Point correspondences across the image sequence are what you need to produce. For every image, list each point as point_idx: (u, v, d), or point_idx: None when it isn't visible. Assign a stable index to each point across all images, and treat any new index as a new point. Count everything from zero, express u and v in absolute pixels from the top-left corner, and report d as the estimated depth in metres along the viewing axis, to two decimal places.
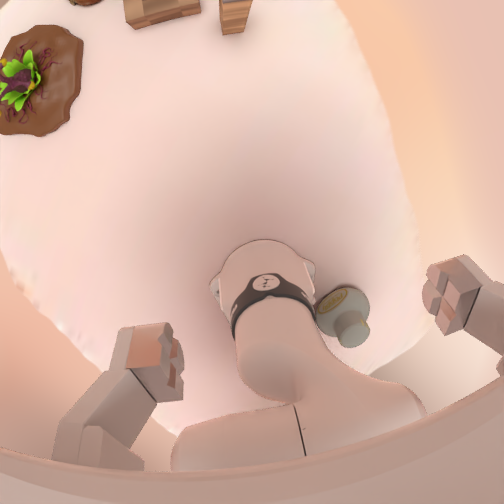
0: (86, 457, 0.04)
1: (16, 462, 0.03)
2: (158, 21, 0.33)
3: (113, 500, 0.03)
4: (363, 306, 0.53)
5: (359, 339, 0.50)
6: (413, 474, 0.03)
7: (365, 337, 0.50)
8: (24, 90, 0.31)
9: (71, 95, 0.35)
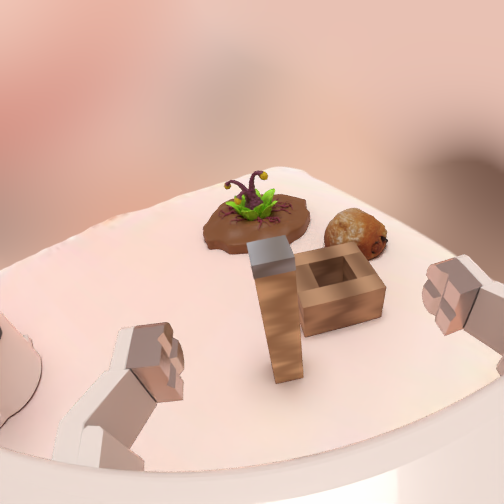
0: (86, 457, 0.04)
1: (16, 462, 0.03)
2: None
3: (113, 500, 0.03)
4: None
5: None
6: (413, 474, 0.03)
7: None
8: None
9: (226, 243, 0.51)
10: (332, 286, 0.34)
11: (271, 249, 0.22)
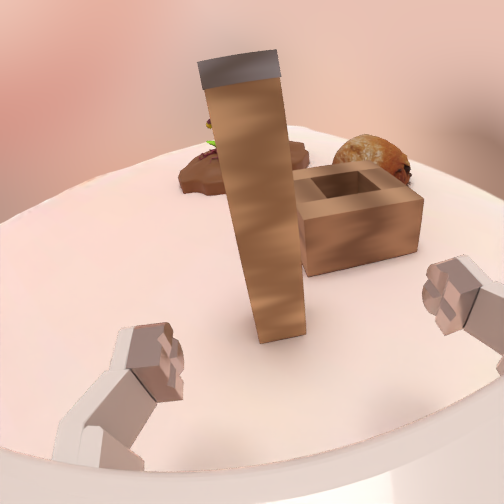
0: (86, 457, 0.04)
1: (16, 462, 0.03)
2: None
3: (113, 500, 0.03)
4: None
5: None
6: (413, 474, 0.03)
7: None
8: None
9: (203, 182, 0.40)
10: (346, 197, 0.22)
11: None
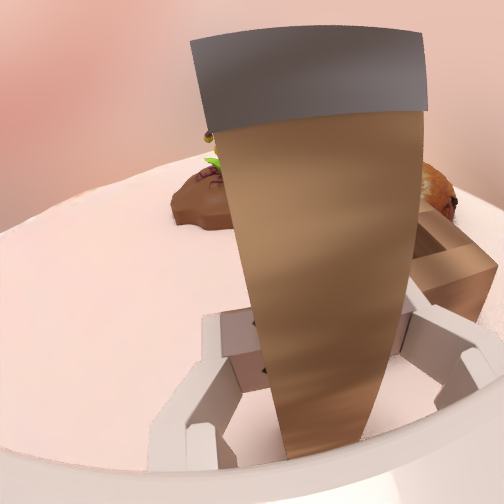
0: (198, 460, 0.04)
1: (16, 462, 0.03)
2: None
3: (113, 500, 0.03)
4: None
5: None
6: (413, 474, 0.03)
7: None
8: None
9: (200, 213, 0.33)
10: None
11: None
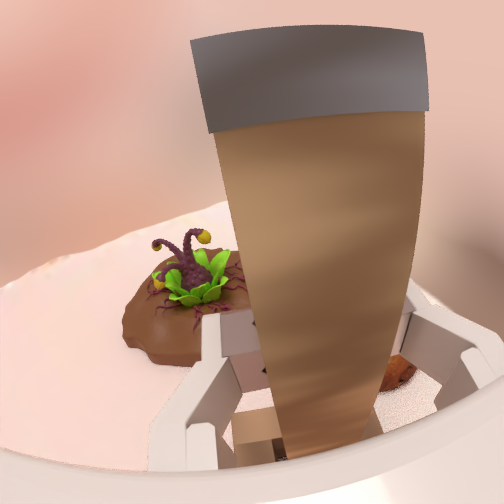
0: (198, 460, 0.04)
1: (16, 462, 0.03)
2: None
3: (113, 500, 0.03)
4: None
5: None
6: (413, 474, 0.03)
7: None
8: (180, 284, 0.35)
9: (145, 349, 0.30)
10: None
11: None
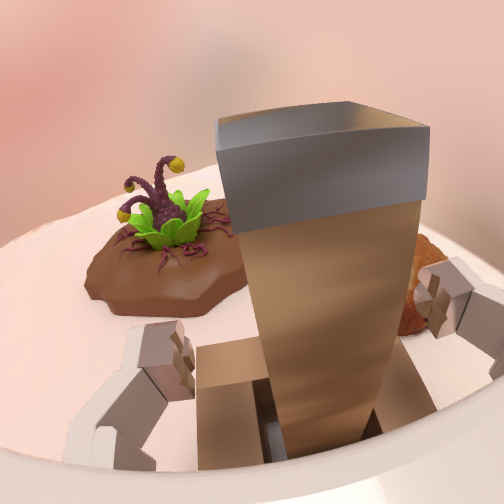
0: (99, 458, 0.04)
1: (16, 462, 0.03)
2: None
3: (113, 500, 0.03)
4: None
5: None
6: (413, 474, 0.03)
7: None
8: (152, 227, 0.31)
9: (104, 295, 0.25)
10: None
11: (314, 115, 0.05)
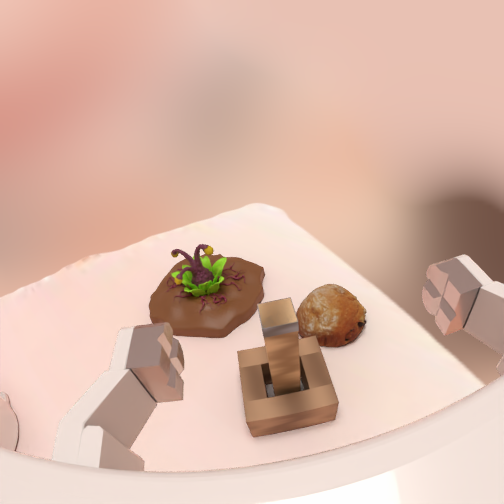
0: (86, 457, 0.04)
1: (16, 462, 0.03)
2: None
3: (113, 500, 0.03)
4: None
5: None
6: (413, 474, 0.03)
7: None
8: (191, 281, 0.51)
9: None
10: (281, 397, 0.30)
11: (279, 313, 0.26)
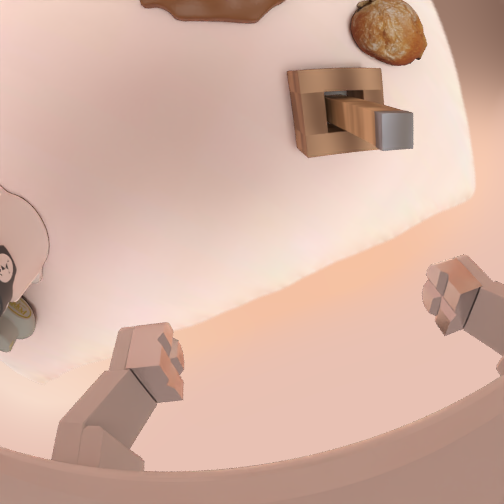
0: (86, 457, 0.04)
1: (16, 462, 0.03)
2: (292, 100, 0.33)
3: (113, 500, 0.03)
4: (23, 335, 0.43)
5: None
6: (413, 474, 0.03)
7: (1, 349, 0.38)
8: None
9: (173, 13, 0.24)
10: (340, 134, 0.31)
11: (399, 132, 0.21)
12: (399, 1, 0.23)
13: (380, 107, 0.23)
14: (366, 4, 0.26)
